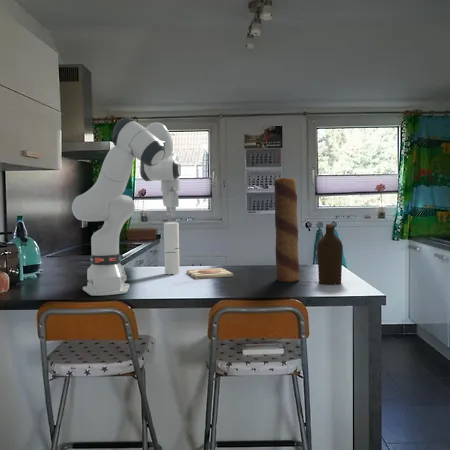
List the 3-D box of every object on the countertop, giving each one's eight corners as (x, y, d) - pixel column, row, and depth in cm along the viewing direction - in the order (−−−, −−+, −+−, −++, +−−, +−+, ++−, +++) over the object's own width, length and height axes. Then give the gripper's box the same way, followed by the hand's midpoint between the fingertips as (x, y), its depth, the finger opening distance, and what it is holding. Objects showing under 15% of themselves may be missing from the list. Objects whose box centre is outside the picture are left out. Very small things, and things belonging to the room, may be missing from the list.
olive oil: (345, 284, 194) (345, 224, 193) (319, 285, 194) (319, 225, 193) (339, 280, 205) (339, 223, 203) (315, 280, 205) (314, 223, 204)
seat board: (233, 276, 219) (233, 272, 219) (195, 279, 214) (195, 275, 213) (221, 270, 236) (221, 267, 236) (186, 273, 231) (186, 269, 231)
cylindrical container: (182, 273, 230) (181, 222, 228) (171, 275, 224) (170, 223, 223) (173, 272, 235) (172, 222, 233) (161, 274, 229) (160, 223, 228)
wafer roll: (270, 280, 207) (269, 178, 205) (284, 277, 215) (283, 178, 213) (289, 283, 200) (288, 177, 198) (303, 279, 208) (303, 177, 206)
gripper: (181, 187, 218) (182, 216, 219) (172, 187, 237) (173, 215, 238) (168, 187, 216) (168, 217, 217) (160, 188, 236) (160, 215, 236)
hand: (171, 216), depth 228 cm, fingers open, 8 cm apart
